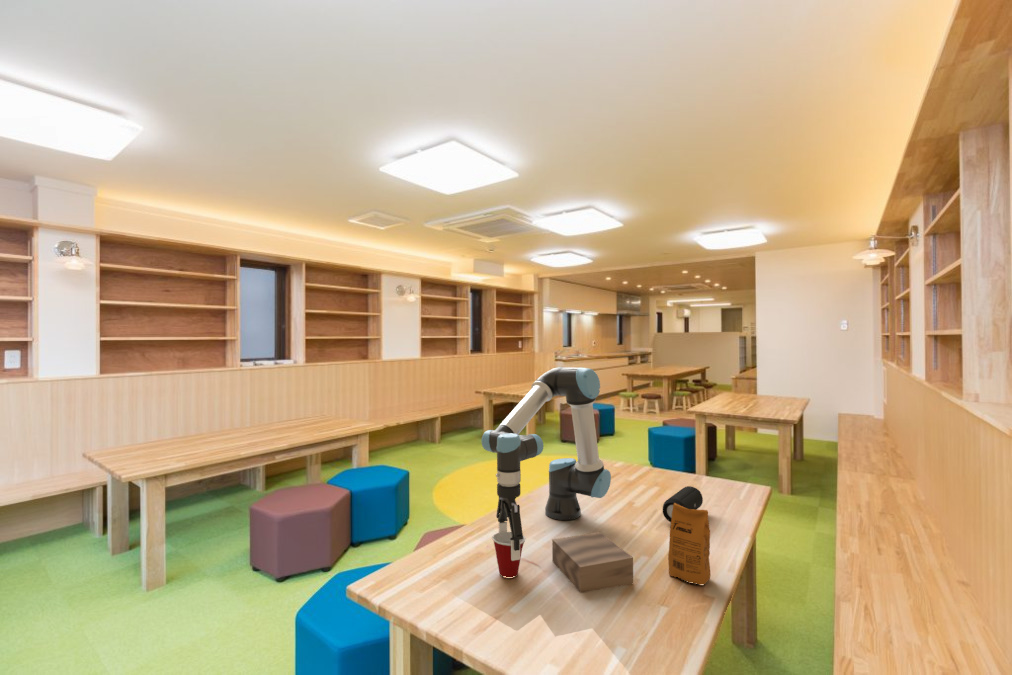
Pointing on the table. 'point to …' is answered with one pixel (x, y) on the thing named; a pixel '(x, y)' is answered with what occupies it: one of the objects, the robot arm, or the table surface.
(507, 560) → the plastic cup
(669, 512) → the portable speaker
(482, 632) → the table surface
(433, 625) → the table surface
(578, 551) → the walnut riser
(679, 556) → the coffee package
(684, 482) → the table surface
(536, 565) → the table surface
